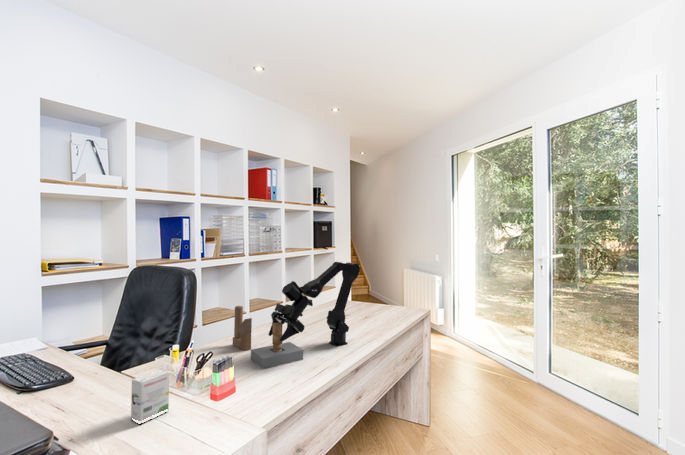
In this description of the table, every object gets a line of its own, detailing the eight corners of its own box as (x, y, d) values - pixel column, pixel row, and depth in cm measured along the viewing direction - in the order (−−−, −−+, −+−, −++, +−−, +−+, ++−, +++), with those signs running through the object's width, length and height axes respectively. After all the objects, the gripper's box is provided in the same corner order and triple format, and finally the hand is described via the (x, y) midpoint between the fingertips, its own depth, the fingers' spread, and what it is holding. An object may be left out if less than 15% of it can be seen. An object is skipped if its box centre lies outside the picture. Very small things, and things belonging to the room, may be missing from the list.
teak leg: (281, 355, 146) (281, 322, 146) (282, 358, 143) (282, 324, 142) (271, 356, 145) (272, 322, 145) (272, 359, 141) (273, 325, 141)
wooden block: (244, 351, 152) (244, 310, 152) (232, 345, 160) (232, 306, 160) (251, 349, 155) (252, 309, 155) (239, 343, 162) (240, 305, 162)
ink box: (159, 407, 104) (160, 368, 104) (169, 412, 102) (170, 372, 102) (130, 420, 97) (130, 378, 97) (140, 426, 94) (140, 383, 95)
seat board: (289, 350, 154) (289, 341, 154) (303, 359, 144) (303, 349, 144) (250, 359, 143) (250, 349, 143) (262, 369, 134) (262, 358, 134)
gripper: (275, 292, 154) (251, 321, 146) (298, 300, 140) (274, 332, 132) (289, 308, 159) (268, 336, 151) (314, 316, 145) (291, 348, 137)
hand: (274, 338), depth 143 cm, fingers open, 9 cm apart
